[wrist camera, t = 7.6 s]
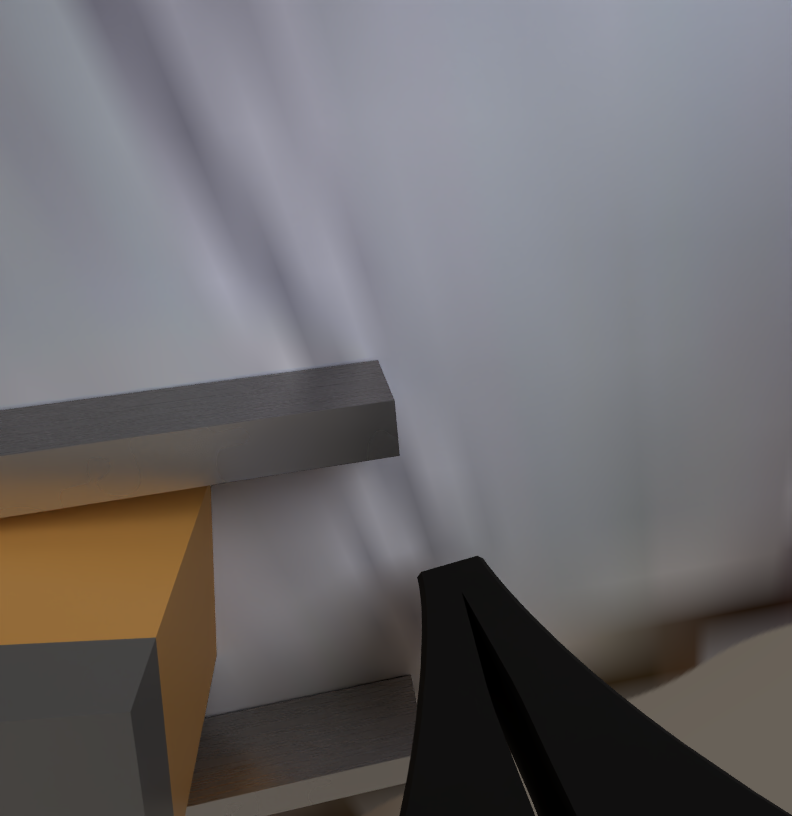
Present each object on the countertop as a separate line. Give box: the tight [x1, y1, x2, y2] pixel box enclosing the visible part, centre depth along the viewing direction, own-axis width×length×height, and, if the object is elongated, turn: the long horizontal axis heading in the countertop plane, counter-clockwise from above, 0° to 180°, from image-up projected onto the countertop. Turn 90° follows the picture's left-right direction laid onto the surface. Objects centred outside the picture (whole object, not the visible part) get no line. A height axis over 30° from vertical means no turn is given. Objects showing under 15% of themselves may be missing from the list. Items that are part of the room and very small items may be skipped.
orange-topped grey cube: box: [0, 485, 217, 816], centre depth 8 cm, size 5×5×5 cm
